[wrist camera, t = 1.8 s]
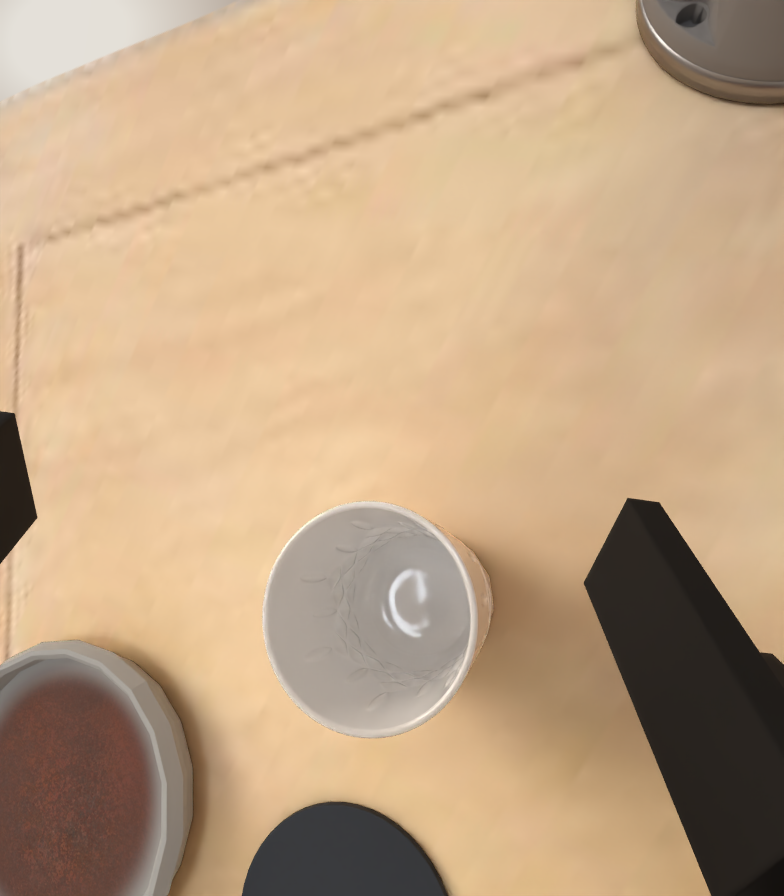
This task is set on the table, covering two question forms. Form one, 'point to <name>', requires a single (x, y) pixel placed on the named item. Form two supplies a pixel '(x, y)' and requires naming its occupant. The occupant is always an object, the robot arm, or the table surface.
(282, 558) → the white cup
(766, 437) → the table surface
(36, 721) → the frying pan
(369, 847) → the coaster
